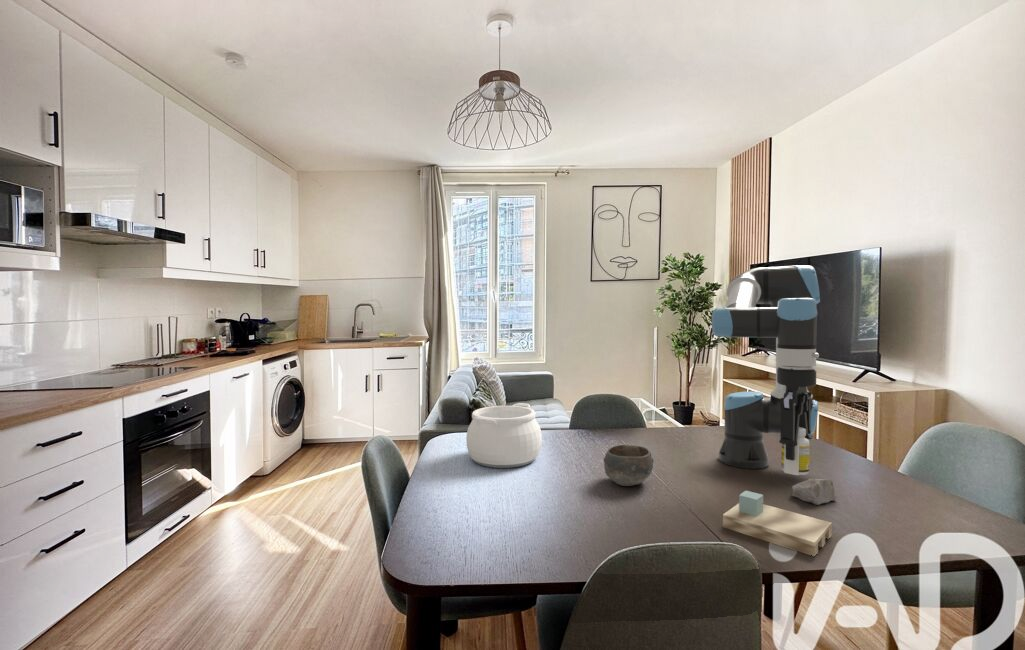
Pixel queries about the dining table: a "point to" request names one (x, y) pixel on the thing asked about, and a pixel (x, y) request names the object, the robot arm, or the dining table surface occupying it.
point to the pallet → (781, 528)
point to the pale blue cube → (751, 503)
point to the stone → (815, 491)
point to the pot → (504, 436)
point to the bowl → (628, 464)
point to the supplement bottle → (801, 452)
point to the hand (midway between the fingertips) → (795, 470)
